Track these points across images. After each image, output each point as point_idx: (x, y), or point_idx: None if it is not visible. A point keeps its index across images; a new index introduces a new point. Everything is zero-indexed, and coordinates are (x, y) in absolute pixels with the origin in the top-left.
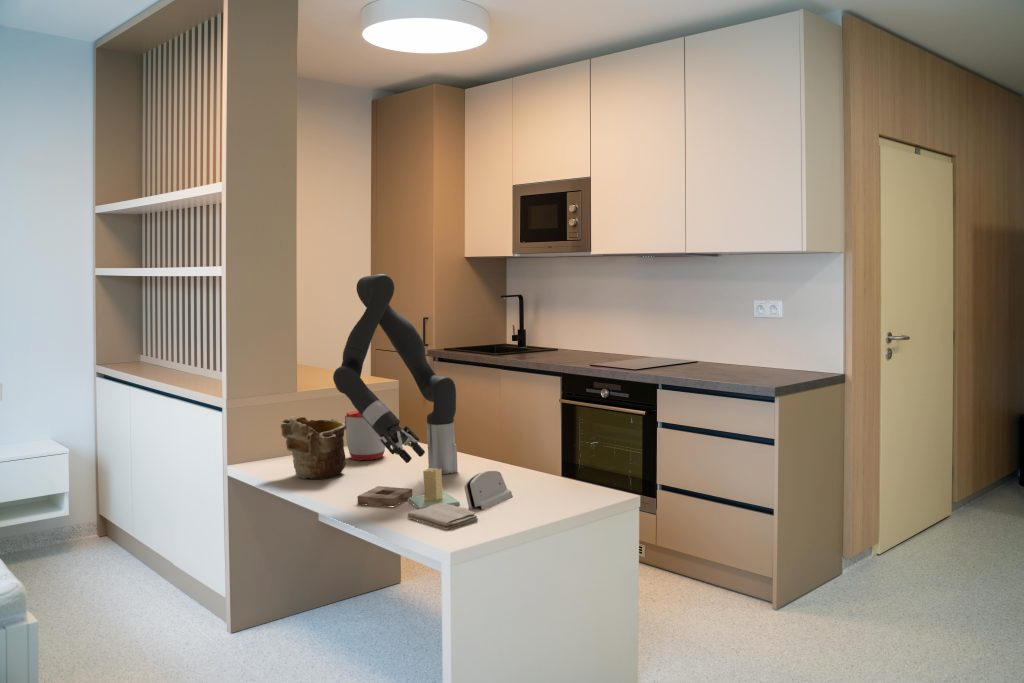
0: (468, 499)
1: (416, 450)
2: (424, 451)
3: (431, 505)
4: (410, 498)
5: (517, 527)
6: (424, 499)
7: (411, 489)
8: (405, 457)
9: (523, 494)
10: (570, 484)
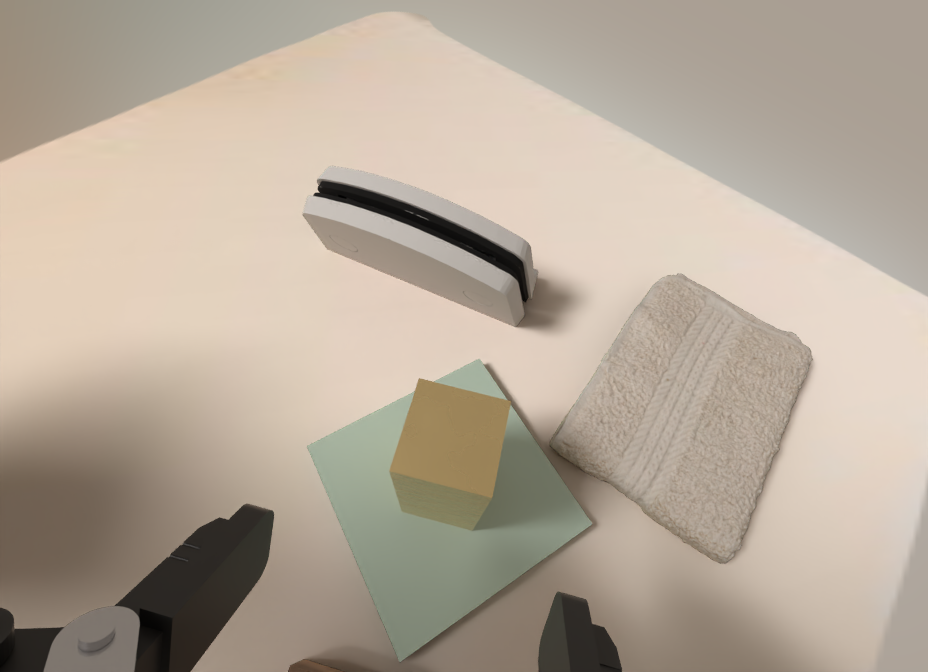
0: (518, 309)
1: (217, 619)
2: (253, 506)
3: (618, 453)
4: (418, 640)
5: (691, 188)
6: (472, 529)
7: (301, 668)
8: (617, 670)
9: None
10: (234, 88)
